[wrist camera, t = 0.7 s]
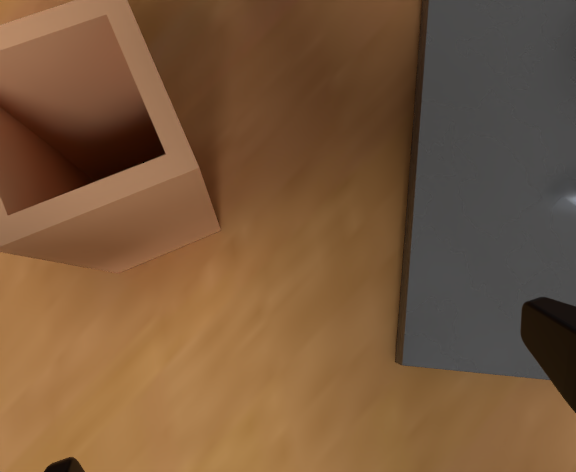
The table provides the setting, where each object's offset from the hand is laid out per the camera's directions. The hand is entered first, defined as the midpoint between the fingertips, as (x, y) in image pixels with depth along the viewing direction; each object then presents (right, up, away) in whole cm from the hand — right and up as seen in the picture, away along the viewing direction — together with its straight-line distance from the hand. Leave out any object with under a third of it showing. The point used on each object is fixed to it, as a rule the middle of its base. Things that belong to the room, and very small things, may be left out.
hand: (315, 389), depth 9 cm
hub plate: (+15, +6, +15) cm, 22 cm away
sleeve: (-7, +5, +13) cm, 15 cm away
